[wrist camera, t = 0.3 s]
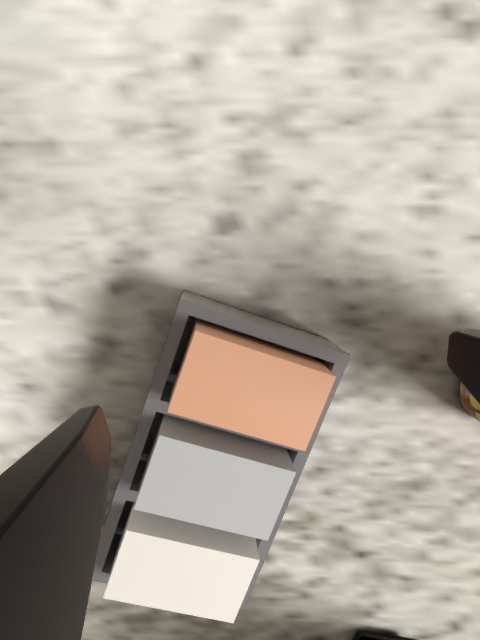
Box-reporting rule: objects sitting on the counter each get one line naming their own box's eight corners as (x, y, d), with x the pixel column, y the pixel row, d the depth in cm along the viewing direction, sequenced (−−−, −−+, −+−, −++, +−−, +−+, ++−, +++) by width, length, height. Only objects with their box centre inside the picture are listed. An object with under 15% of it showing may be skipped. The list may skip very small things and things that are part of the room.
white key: (229, 577, 24) (233, 623, 21) (115, 552, 23) (103, 597, 20) (252, 520, 23) (259, 560, 20) (136, 492, 22) (126, 530, 19)
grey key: (259, 503, 23) (267, 540, 20) (143, 474, 22) (133, 509, 19) (284, 443, 22) (296, 472, 19) (165, 409, 21) (159, 435, 18)
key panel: (237, 558, 27) (243, 610, 23) (104, 528, 25) (86, 579, 21) (326, 338, 24) (350, 355, 20) (184, 289, 23) (180, 298, 19)
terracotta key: (291, 424, 22) (305, 451, 19) (172, 389, 21) (167, 412, 18) (318, 359, 21) (336, 376, 19) (196, 319, 20) (195, 330, 17)
